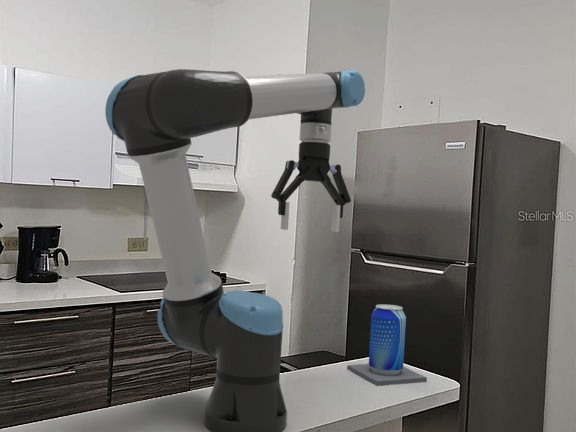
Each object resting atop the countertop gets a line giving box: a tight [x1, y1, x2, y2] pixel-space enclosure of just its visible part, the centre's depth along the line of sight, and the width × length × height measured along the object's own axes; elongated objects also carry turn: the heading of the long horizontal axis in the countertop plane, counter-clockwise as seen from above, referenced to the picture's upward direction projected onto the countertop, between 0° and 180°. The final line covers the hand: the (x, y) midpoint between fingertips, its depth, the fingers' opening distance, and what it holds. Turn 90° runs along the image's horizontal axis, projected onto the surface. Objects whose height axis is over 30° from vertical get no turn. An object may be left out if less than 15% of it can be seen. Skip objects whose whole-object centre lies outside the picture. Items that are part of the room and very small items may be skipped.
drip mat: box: [346, 363, 428, 387], centre depth 145 cm, size 14×14×1 cm
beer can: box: [368, 304, 407, 375], centre depth 145 cm, size 8×8×16 cm
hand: (310, 230), depth 142 cm, fingers open, 13 cm apart
